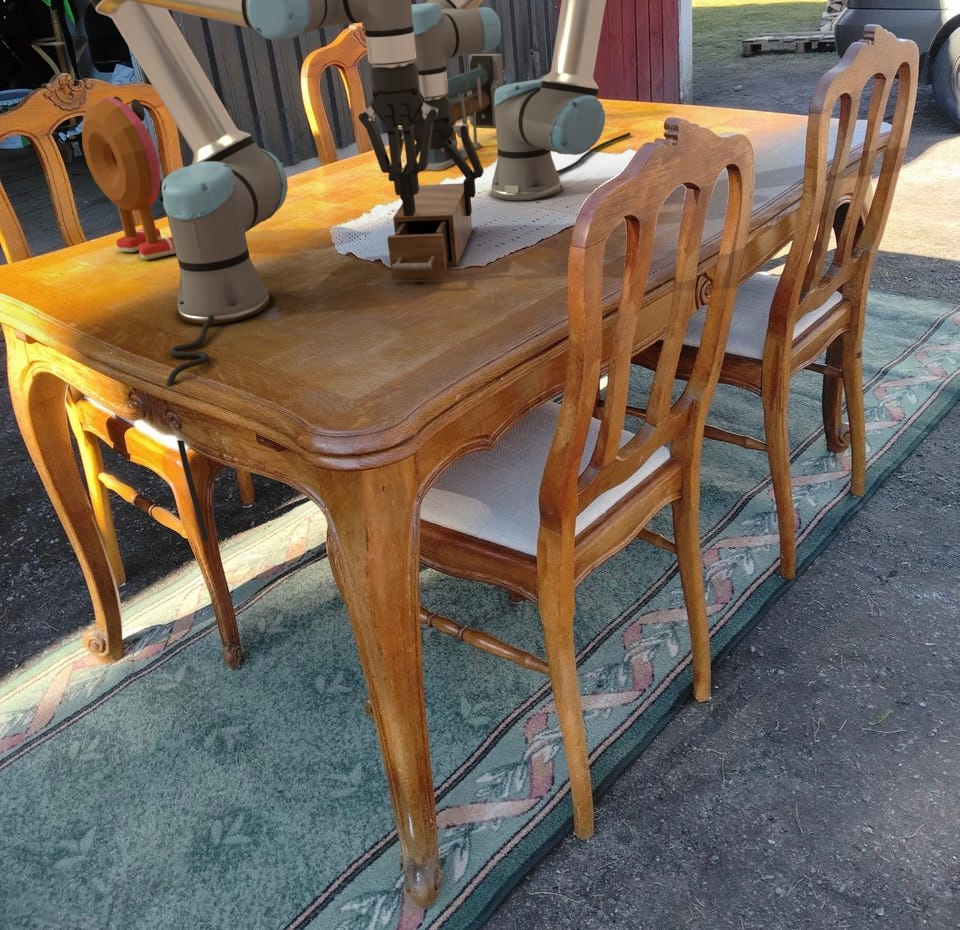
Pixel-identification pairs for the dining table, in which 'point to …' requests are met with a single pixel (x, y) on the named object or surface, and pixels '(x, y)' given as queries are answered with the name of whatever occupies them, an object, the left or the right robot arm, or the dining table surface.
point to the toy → (126, 170)
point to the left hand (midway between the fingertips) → (409, 213)
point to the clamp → (471, 102)
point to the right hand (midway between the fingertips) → (439, 215)
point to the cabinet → (442, 214)
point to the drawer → (420, 249)
